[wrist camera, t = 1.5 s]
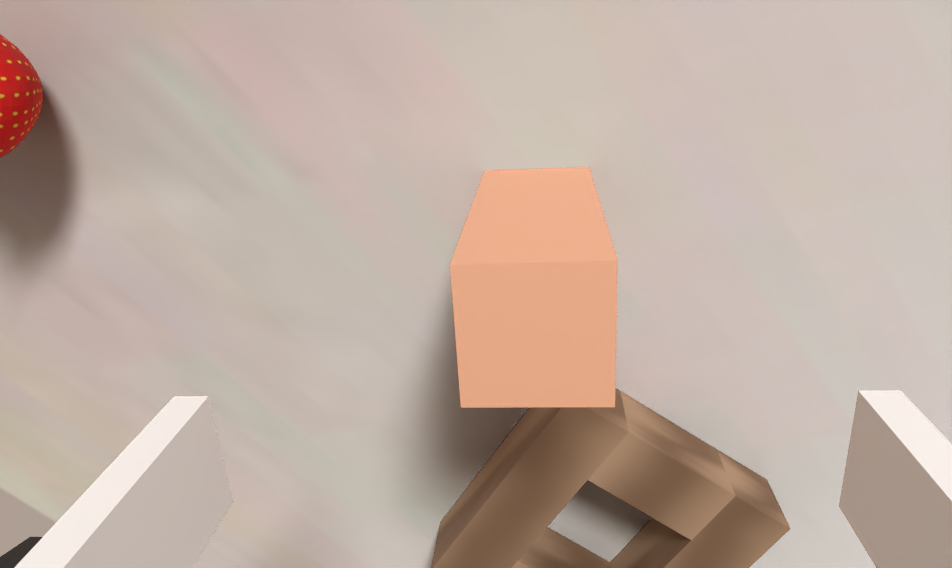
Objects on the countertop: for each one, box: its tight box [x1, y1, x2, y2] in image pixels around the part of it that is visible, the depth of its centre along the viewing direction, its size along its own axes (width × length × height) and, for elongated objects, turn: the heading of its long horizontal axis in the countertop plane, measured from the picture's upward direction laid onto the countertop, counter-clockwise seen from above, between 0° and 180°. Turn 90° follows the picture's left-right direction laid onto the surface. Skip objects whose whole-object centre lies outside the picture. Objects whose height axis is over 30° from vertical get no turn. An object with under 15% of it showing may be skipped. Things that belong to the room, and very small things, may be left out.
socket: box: [431, 388, 790, 568], centre depth 34 cm, size 12×12×4 cm
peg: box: [450, 167, 618, 408], centre depth 25 cm, size 4×4×12 cm
